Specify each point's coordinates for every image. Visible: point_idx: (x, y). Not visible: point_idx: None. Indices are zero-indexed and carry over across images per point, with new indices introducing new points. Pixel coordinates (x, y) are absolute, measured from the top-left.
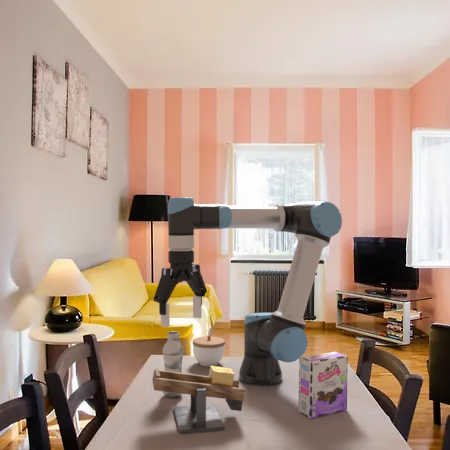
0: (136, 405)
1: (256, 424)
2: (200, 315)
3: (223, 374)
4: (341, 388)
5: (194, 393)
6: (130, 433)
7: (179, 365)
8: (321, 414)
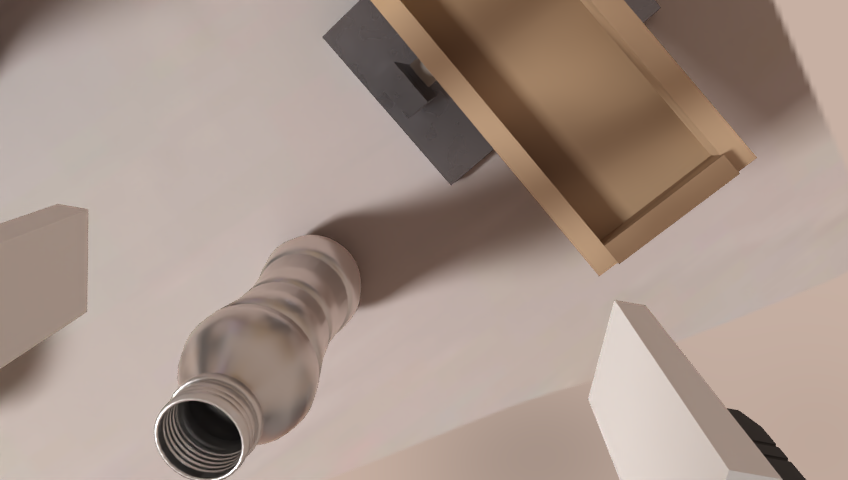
0: (490, 345)
1: None
2: (50, 215)
3: None
4: None
5: None
6: (735, 198)
7: (281, 287)
8: None
